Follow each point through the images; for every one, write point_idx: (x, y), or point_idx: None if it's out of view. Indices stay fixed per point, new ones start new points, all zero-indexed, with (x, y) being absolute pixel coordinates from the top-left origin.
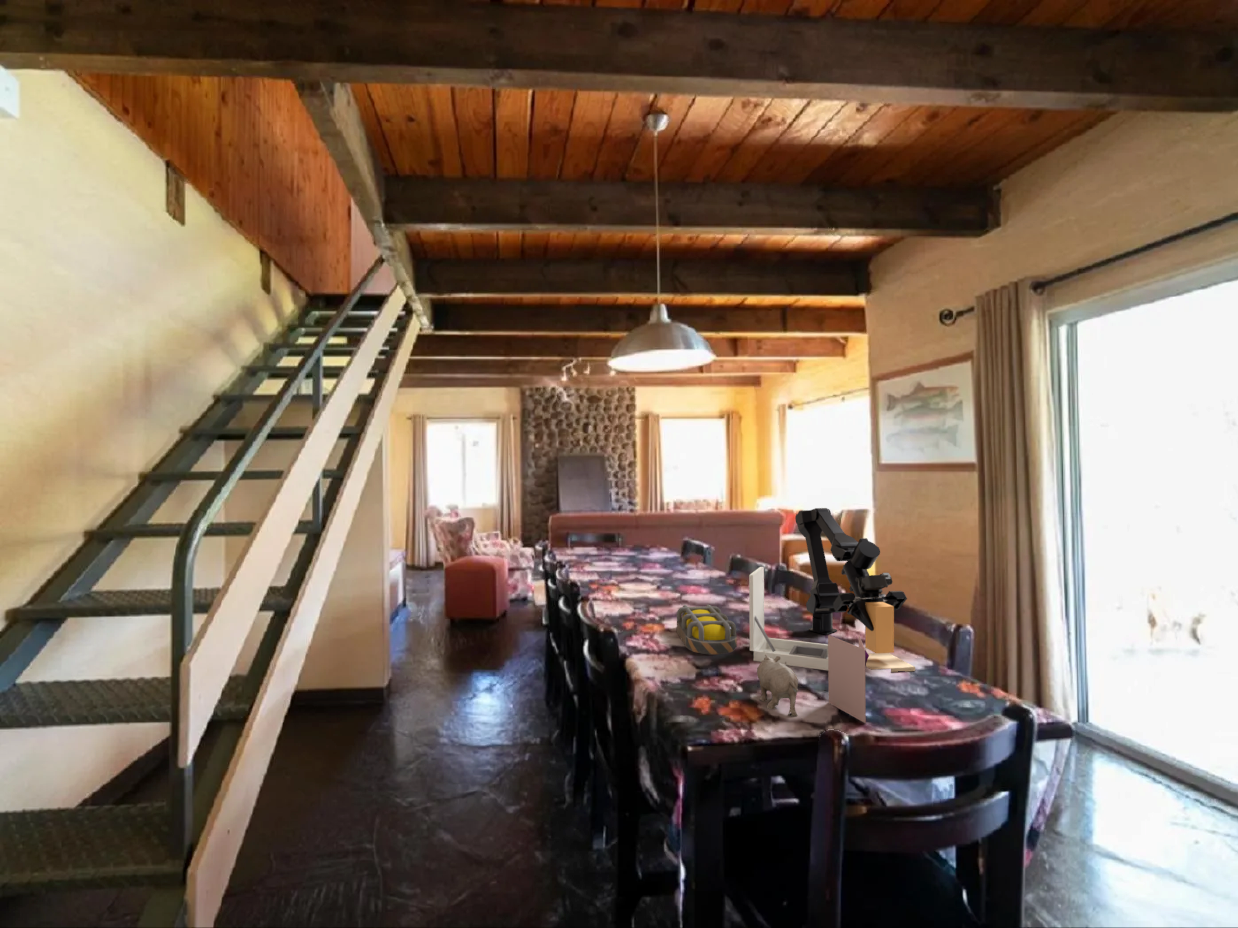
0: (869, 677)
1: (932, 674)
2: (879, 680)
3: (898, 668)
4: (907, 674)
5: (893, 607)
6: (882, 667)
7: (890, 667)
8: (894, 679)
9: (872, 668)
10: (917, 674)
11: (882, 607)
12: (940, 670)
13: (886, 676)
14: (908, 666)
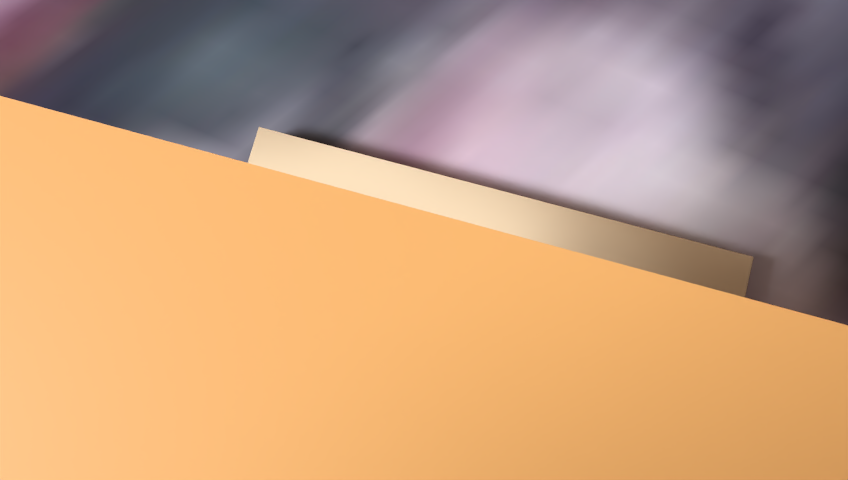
0: (836, 184)
1: (207, 4)
2: (804, 86)
3: (443, 177)
4: (423, 97)
5: (51, 116)
6: (590, 255)
7: (512, 218)
8: (649, 49)
9: (716, 275)
10: (335, 59)
11: (732, 299)
12: (37, 50)
13: (657, 138)
14: (310, 165)
